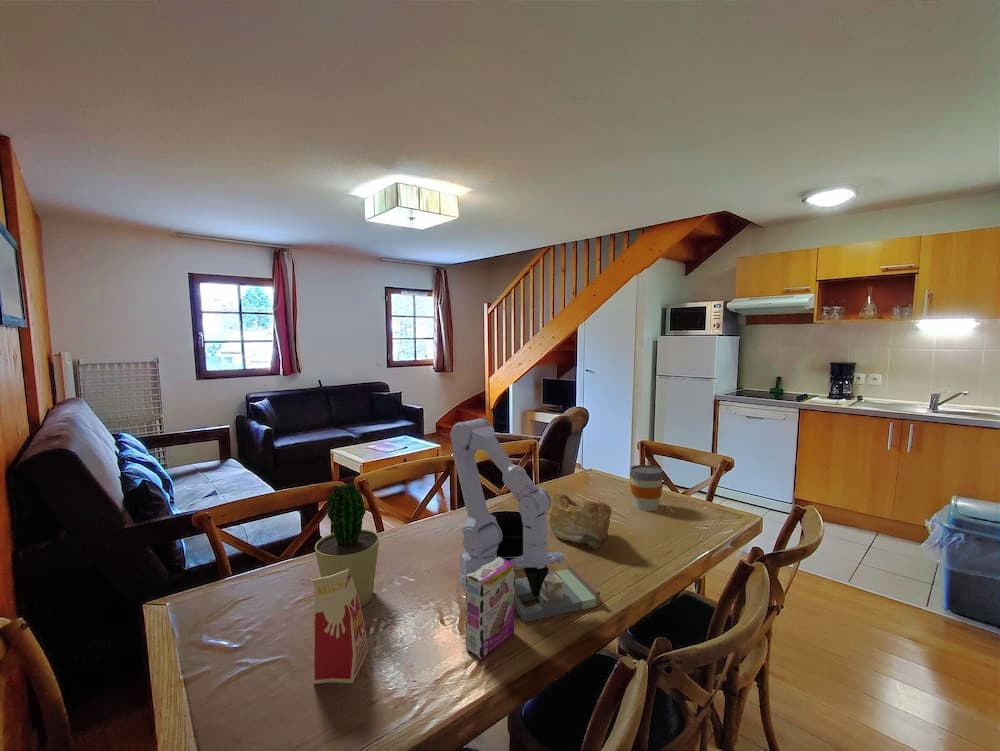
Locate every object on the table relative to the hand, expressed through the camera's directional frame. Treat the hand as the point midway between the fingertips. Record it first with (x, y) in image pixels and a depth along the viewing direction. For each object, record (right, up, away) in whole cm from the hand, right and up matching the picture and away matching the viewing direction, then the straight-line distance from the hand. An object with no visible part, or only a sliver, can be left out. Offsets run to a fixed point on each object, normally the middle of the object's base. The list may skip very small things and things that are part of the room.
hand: (535, 594), depth 108 cm
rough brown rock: (+20, -1, +37) cm, 43 cm away
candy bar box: (-10, -4, -13) cm, 17 cm away
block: (+4, -1, +1) cm, 5 cm away
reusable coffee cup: (+49, +2, +66) cm, 82 cm away
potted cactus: (-47, -3, +5) cm, 47 cm away
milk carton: (-41, -5, -20) cm, 46 cm away
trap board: (+4, -3, +4) cm, 6 cm away
